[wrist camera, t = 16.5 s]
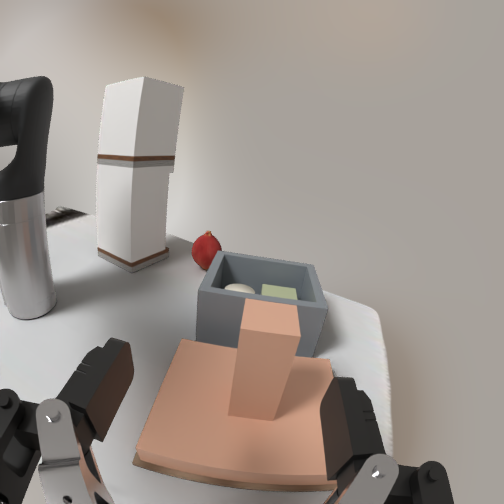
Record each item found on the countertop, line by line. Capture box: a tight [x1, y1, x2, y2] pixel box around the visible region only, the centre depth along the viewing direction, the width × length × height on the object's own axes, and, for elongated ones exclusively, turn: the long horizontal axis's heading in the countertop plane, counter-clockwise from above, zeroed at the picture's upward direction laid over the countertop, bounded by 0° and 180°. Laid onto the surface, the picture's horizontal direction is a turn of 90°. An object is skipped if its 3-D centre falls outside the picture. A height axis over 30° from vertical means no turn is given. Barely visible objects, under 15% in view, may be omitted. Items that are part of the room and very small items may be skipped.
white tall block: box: [96, 77, 184, 273], centre depth 49 cm, size 11×11×35 cm
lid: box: [136, 298, 337, 485], centre depth 22 cm, size 17×15×12 cm
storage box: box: [196, 251, 328, 358], centre depth 39 cm, size 15×13×8 cm
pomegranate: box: [192, 231, 222, 270], centre depth 54 cm, size 6×6×8 cm
